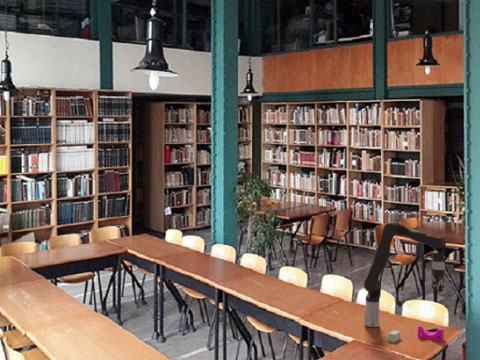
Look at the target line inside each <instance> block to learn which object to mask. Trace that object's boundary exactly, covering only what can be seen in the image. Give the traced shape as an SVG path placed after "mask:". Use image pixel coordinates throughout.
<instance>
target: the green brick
mask: <svg viewBox="0 0 480 360" xmlns="http://www.w3.org/2000/svg"><path fill="white" fill-rule="evenodd" d="M387 335H388V336H387V337H388V338H387V341H388V342H392V343H396V342H397V341H399V340H401V331H400V330H395V329H393V330H391V331H390V332H388V333H387Z"/></svg>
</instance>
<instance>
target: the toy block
mask: <svg viewBox="0 0 480 360" xmlns="http://www.w3.org/2000/svg"><path fill="white" fill-rule="evenodd" d="M444 333H445V332H444V328H442V327H438V328H437V330H436V331H435V332H431V331H427V330H425V329H424V327H423V325H421V324H418V325H417V338H418V339H424V340H431V341H437V342H443V341H444V338H445V337H444Z"/></svg>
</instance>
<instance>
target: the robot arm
mask: <svg viewBox="0 0 480 360" xmlns="http://www.w3.org/2000/svg"><path fill="white" fill-rule="evenodd" d="M395 236H403V237H406V238H409V239H410V240H413V241H414V242H418V243H421V244H423V245H426V246H428V247H431V248H434V251H433V252H432V260H431V261H432V262H431V276H433V278H432V280H431V281H432V283H431V284H432V285H431V288H432V289H433V295H435V296H438V295H439V293H443V286H444V284H445V278H444V277H445V273H446V271H445V270H446V269H445V268H446V267H445V252H446V245H447V242H446V238H445V237H443V236H432V235H431V234H430V233H426V232H423V231H421V230H420V231H419V230H418V229H413V228H410V227H407V226H405V225H402V224H400V223H399V222H396V221H390V222H387V223H385V225H384V226H383V229H382V233H381V237H380V240H379V244H378V246H377V248H376V251H375V254H374V257H373V260H372V263H371V266H370V268H369V272H368V274H367V276H366V278H365V280H364V283H363V287H364V290H365V291H366V292H367V294H366V295H365V310H364V326H366V327H368V328H378V327H379V328H380V298H381V296H382V294H381V293H382V292H381V291H382V282H381V280H380V279H379V278H380V275H381V273H382V272H383V271H384V269H385V268H386V266H387V264H388V261H389V259H390V257H391V256H390V255H391V244H392V242H393V239H394V237H395ZM438 292H439V293H438Z"/></svg>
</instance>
